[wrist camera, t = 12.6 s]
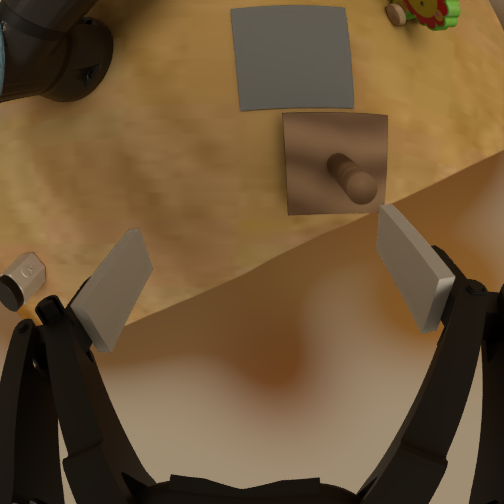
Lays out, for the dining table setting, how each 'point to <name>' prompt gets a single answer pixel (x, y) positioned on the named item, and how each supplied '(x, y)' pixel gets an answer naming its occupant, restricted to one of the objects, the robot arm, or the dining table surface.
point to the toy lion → (425, 12)
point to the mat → (292, 57)
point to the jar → (21, 281)
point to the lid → (335, 162)
